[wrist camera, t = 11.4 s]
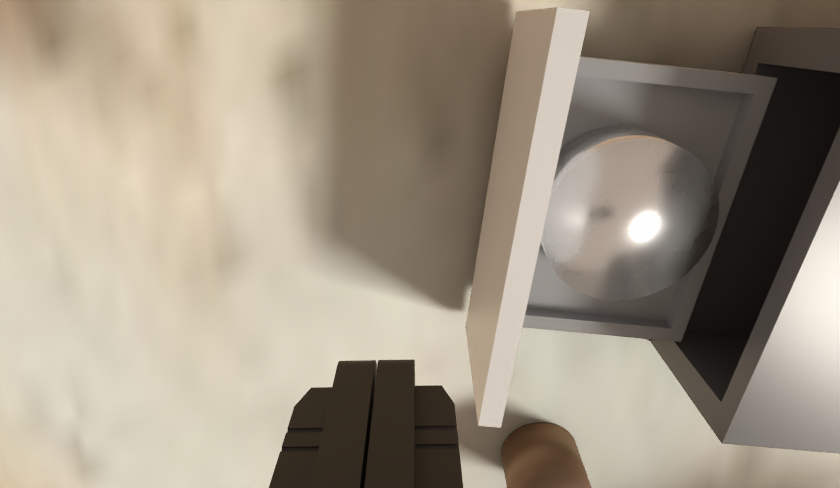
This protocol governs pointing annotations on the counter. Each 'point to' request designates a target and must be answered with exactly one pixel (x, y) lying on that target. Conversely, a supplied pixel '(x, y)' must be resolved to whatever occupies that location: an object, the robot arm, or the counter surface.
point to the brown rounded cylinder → (542, 458)
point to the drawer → (534, 175)
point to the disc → (627, 213)
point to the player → (776, 265)
